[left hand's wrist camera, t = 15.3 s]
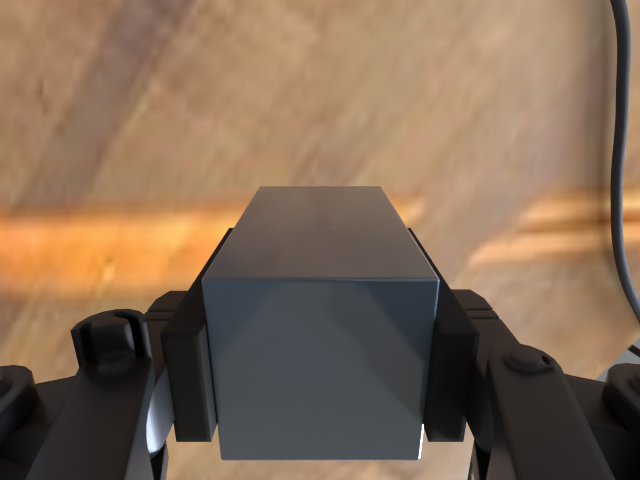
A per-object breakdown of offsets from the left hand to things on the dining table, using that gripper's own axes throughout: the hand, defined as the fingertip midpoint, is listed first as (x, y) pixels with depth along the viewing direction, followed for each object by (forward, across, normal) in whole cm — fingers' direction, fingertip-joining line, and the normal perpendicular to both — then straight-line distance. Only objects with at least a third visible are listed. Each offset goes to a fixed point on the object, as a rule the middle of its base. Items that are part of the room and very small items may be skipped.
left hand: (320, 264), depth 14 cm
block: (+2, 0, 0) cm, 2 cm away
